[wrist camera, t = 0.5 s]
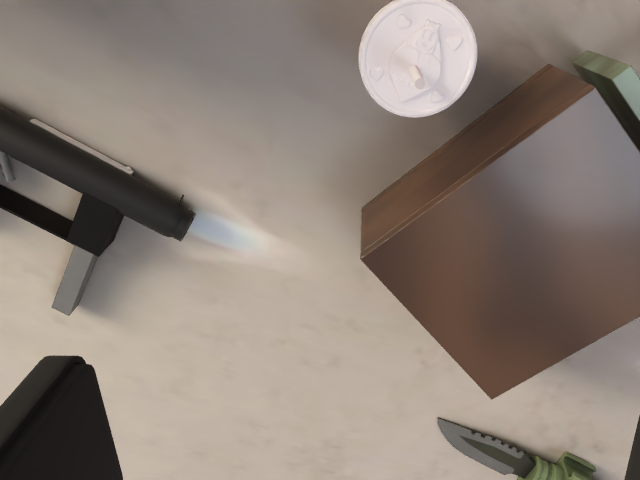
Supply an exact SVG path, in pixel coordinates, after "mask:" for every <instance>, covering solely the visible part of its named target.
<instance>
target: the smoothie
mask: <svg viewBox="0 0 640 480" xmlns="http://www.w3.org/2000/svg"><path fill="white" fill-rule="evenodd" d="M476 63H477V43H476V38H475V34H474V31H473V29H472V27H471V25H470V23H469V21H468V20H467V18H466V16H465V15H464V14H463V13H462V12H461V11H460V10H459V9H458V8H457V7H456V6H455V5H454V4H452V3H450V2H449V1H447V0H393V1H392V2H390V3H389V4H387V5H386V6H385V7H383V8H382V9H380V10H379V12H378V13H377V14H376V15H375V16H374V17H373V18H372V19H371V21H370V22H369V24H368V26H367V28H366V30H365V32H364V33H363V35H362V39H361V43H360V47H359V70H360V73H361V77H362V80H363V83H364V85H365V87H366V89H367V91H368V93H369V94H370V95H371V97H372V98H373V99H374V100H375V101H376V102H377V103H378V104H379V105H380V106H381V107H383V108H384V109H386V110H388V111H389V112H391V113H394V114H396V115H399V116H404V117H413V118H417V117H425V116H430V115H433V114H436V113H438V112H440V111H442V110H444V109H446V108H448V107H449V106H450V105H452V104H453V103H454V102H455V101H456V100H458V99H459V97H460V96H461V95H462V94H463V93H464V91H465V90H466V89H467V87H468V85H469V84H470V82H471V80H472V77H473V75H474V72H475V68H476Z"/></svg>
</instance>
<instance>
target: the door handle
mask: <svg viewBox="0 0 640 480" xmlns="http://www.w3.org/2000/svg"><path fill="white" fill-rule="evenodd" d="M7 155H9V156H11V157H13V158H15V159H16V160H18V161H20V162H22V163H24V164H26V165H28V166H30V167H32V168H34V169H36V170H38V171H40V172H42V173H44V174H46V175H47V176H49V177H51V178H53V179H55V180H57V181H59V182H61V183H63V184H65V185H67V186H69V187H71V188H73V189H75V190H77V191H78V192H80V193H82V194H83V195H82V198H81V201H80V203H79V206H78V209H77V212H76V214H75V217H74V220H73V221H71V220H69V219H67V218H65V217H63V216H61V215H59V214H57V213H55V212H53V211H52V210H50V209H48V208H46V207H44V206H42V205H40V204H38V203H36V202H34V201H32V200H30V199H28V198H26V197H24V196H22V195H20V194H18V193H16V192H14V191H12V190H10V189H8V188H6V187H4V186H2V185H0V208H2V209H4V210H6V211H8V212H10V213H12V214H14V215H16V216H18V217H20V218H22V219H24V220H26V221H28V222H30V223H32V224H34V225H36V226H38V227H40V228H42V229H44V230H46V231H48V232H50V233H52V234H54V235H56V236H58V237H60V238H62V239H64V240H66V241H67V242H69V243H71V244H73V245H75V246H74V248H73V251H72V254H71V256H70V259H69V262H68V264H67V267H66V270H65V272H64V275H63V278H62V281H61V283H60V286H59V289H58V291H57V294H56V297H55V299H54V302H53V305H52V308H54V309H56V310H58V311H60V312H62V313H64V314H66V315H68V316H69V315H70V314H71V313H72V312H73V311H74V309H75V308H76V307H77V306H78V304H79V302H80V299H81V297H82V294H83V292H84V289H85V287H86V284H87V282H88V279H89V277H90V275H91V272H92V270H93V267H94V265H95V262H96V260H97V257H99V256H100V255H101V254H102V253H103V252H104V250H105V249H106V248H107V247H108V246H109V245H110V244H111V243H112V242H113V240H114V238H115V236H116V233H117V231H118V229H119V226H120V224H121V221H122V219H123V216H124V215H125V216H127V217H129V218H131V219H133V220H135V221H137V222H139V223H140V224H142V225H144V226H146V227H148V228H150V229H152V230H154V231H156V232H158V233H160V234H162V235H164V236H167V237H173V238H175V239H177V240H179V241H181V240H182V239H183V237H184V236H185V234H186V233H187V231H188V229H189V227H190V225H191V223H192V221H193V219H194V217H195V215H196V213H194V212H192V211H190V210H189V209H188V207H187V206H186V205H185V204H184V203H182V202H183V200H182V199H183V197H184V195H182V197H181V199H180V201H179V200H177V199H175V198H173V197H171V196H169V195H167V194H165V193H163V192H162V191H160V190H158V189H156V188H154V187H152V186H150V185H148V184H146V183H145V182H143V181H141V180H139V179H137V178H135V177H133V176H132V175H133V173H134V171H133V170H132V168H131V167H128V166H127V167H125V166H123V165H122V164H120V163H118V162H116V161H114V160H112V159H110V158H108V157H107V156H105V155H103V154H101V153H99V152H97V151H95V150H93V149H91V148H90V147H88V146H86V145H84V144H82V143H80V142H78V141H76V140H74V139H73V138H71V137H69V136H67V135H65V134H63V133H61V132H59V131H57V130H56V129H54V128H52V127H50V126H48V125H46V124H44V123H42V122H40V121H39V120H37V119H35V118H34V119H32V120H30V121H27V120H25V119H23V118H21V117H20V116H18V115H16V114H14V113H12V112H10V111H8V110H6V109H4V108H3V107H1V106H0V165H1V169H2V171H3V174H4V176H5V178H6V181H7V182H10V181H13V180H15V179H16V178H15V176H14V174H13V172H12V169H11V166H10V164H9V160H8V156H7ZM181 201H182V202H181Z"/></svg>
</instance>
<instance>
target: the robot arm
mask: <svg viewBox="0 0 640 480" xmlns="http://www.w3.org/2000/svg"><path fill="white" fill-rule="evenodd" d="M0 480H123V476H122V472H121V468H120V464H119V460H118V456H117V453H116V449H115V445H114V441H113V438H112V434H111V430H110V426H109V422H108V419H107V415H106V411H105V407H104V404H103V400H102V396H101V392H100V388H99V385H98V381H97V377H96V373H95V370H94V368H93V367H92V365H89V364H86V362H85V360H84V359H83V358H82V357H80V356H46V357H44V358H43V359H42V360H41V361H40V362H39V363H38V364H37V365H36V366H35V368H34V369H33V370H32V371H31V372H30V373H29V374H28V375H27V377H26V378H25V379H24V380H23V381H22V382H21V383H20V385H19V386H18V387H17V388H16V389H15V390H14V391H13V392H12V394H11V395H10V396H9V397H8V398H7V399H6V400H5V402H4V403H3V404H2V405H1V406H0ZM625 480H640V416H639V420H638V424H637V429H636V433H635V437H634V441H633V446H632V450H631V454H630V459H629V463H628V467H627V471H626V476H625Z"/></svg>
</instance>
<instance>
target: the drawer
mask: <svg viewBox="0 0 640 480" xmlns="http://www.w3.org/2000/svg"><path fill="white" fill-rule="evenodd" d="M572 64H573V65H574V67H575V68H576V70H577V71H578V72H579V74H580V75H581V77H582V78H583V80H584V81H585V82H586V83H588V84H591V85H593V86H595V87H596V88H597V89H598V91H599V92H600V94H601V95H602V97H603V98H604V100H605V101H606V103H607V104H608V106H609V107H610V109H611V110H612V111H613V113H614V114H615V116H616V117H617V119H618V120H619V122H620V123H621V125H622V126H623V128H624V129H625V131H626V132H627V133H628V135H629V136H630V138H631V139H632V141H633V142H634V144H635V145H636V147H637V148H638V150H639V151H640V78H639V77H638V75H637V73H636V72H635V70H634V69H633V67H632V66H631V65H628V64H625V63H622V62H619V61H617V60H614V59H611V58H608V57H605V56H602V55H599V54H596V53H594V52H591V51H586V52H585V53H583V54H582V55H581V56H579V57H578V58H577V59H575V60H574V61H573V62H572Z"/></svg>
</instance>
